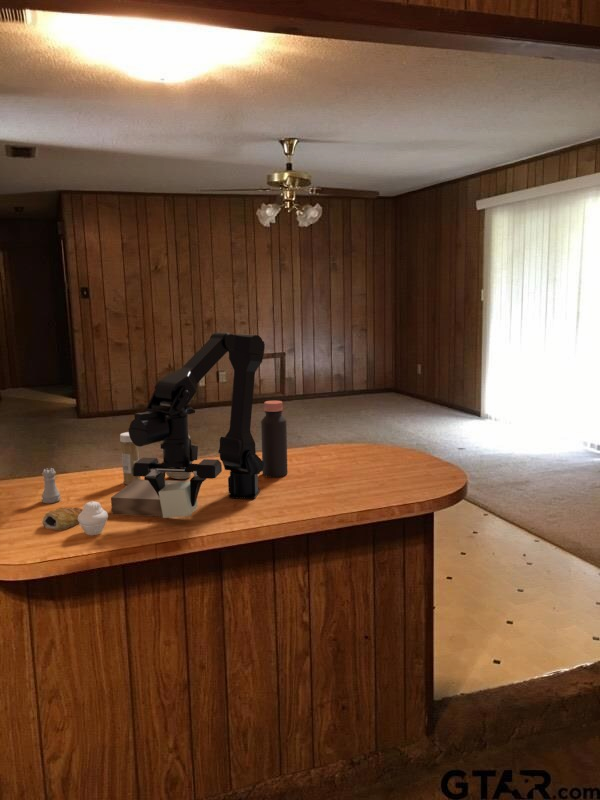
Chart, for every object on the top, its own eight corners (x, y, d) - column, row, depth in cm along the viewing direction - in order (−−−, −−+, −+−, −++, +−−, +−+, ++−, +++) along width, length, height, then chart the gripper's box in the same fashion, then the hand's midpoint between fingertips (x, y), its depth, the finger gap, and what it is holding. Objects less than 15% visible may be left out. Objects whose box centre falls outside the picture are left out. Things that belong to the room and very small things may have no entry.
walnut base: (190, 496, 166) (189, 481, 165) (170, 516, 152) (169, 499, 151) (136, 494, 168) (135, 479, 167) (112, 514, 154) (110, 497, 154)
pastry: (74, 514, 155) (73, 498, 155) (94, 520, 152) (93, 503, 151) (39, 527, 147) (38, 511, 147) (60, 533, 144) (59, 516, 143)
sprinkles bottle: (143, 483, 177) (140, 433, 174) (126, 486, 174) (123, 436, 172) (137, 479, 181) (134, 430, 178) (120, 482, 178) (117, 433, 176)
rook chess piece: (64, 498, 166) (62, 467, 164) (52, 504, 162) (50, 472, 160) (49, 497, 167) (47, 466, 166) (37, 503, 163) (34, 471, 162)
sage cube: (197, 506, 152) (193, 481, 151) (189, 515, 146) (184, 489, 145) (172, 508, 153) (168, 483, 152) (163, 518, 147) (158, 491, 146)
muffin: (109, 536, 142) (106, 504, 140) (78, 539, 140) (76, 507, 139) (108, 525, 147) (106, 495, 146) (79, 529, 146) (76, 498, 144)
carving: (197, 478, 181) (195, 434, 179) (171, 483, 177) (169, 438, 175) (187, 472, 186) (185, 430, 184) (161, 477, 182) (159, 434, 180)
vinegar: (292, 472, 184) (290, 401, 181) (278, 479, 179) (276, 405, 175) (271, 469, 188) (270, 398, 184) (257, 475, 182) (255, 403, 179)
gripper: (227, 429, 152) (229, 495, 155) (148, 427, 155) (152, 492, 158) (212, 441, 142) (216, 511, 145) (129, 439, 145) (133, 508, 148)
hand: (179, 505), depth 149 cm, fingers closed on sage cube, 6 cm apart
